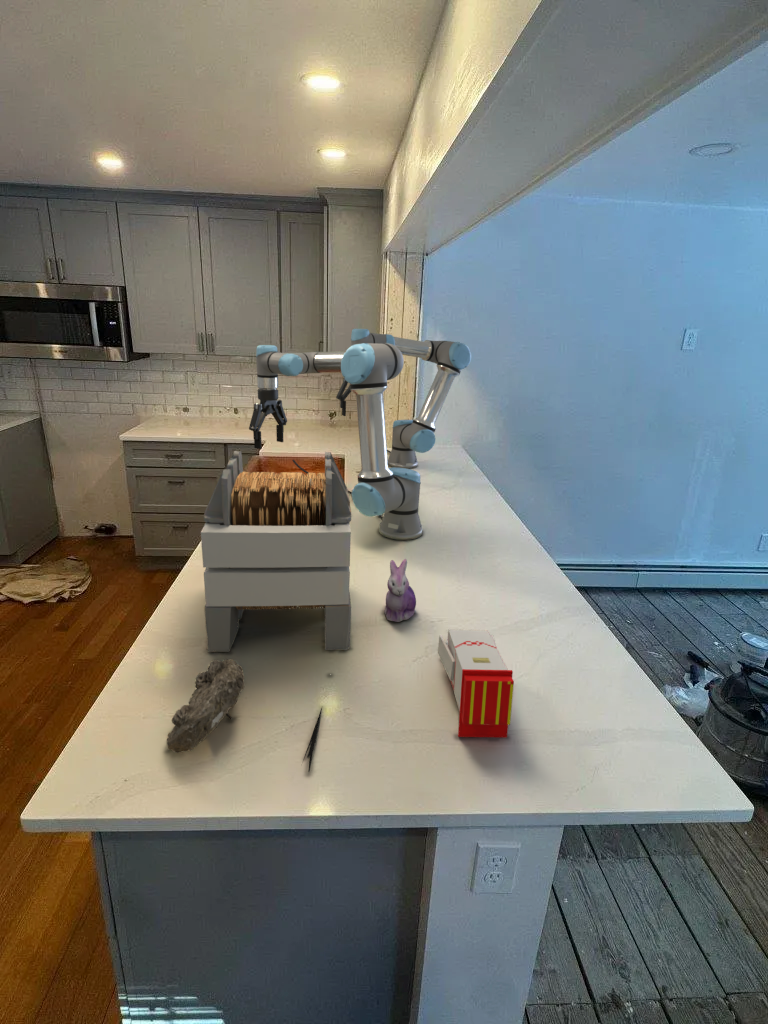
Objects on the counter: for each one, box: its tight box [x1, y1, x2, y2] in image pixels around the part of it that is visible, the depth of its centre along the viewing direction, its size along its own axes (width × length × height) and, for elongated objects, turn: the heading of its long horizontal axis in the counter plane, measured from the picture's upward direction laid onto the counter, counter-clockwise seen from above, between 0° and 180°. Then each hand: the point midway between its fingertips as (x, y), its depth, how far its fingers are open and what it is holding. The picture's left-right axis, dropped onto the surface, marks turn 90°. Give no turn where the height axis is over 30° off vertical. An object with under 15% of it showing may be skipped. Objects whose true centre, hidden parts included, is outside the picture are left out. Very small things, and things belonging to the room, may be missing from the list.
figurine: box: [384, 558, 417, 623], centre depth 145 cm, size 9×10×15 cm
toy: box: [437, 628, 515, 738], centre depth 117 cm, size 12×13×30 cm
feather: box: [301, 673, 332, 771], centre depth 108 cm, size 2×28×2 cm
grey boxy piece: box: [200, 450, 353, 653], centre depth 138 cm, size 34×33×41 cm
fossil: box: [166, 658, 245, 754], centre depth 106 cm, size 22×10×15 cm
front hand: (269, 445), depth 216 cm, fingers open, 13 cm apart
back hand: (358, 415), depth 253 cm, fingers open, 13 cm apart
